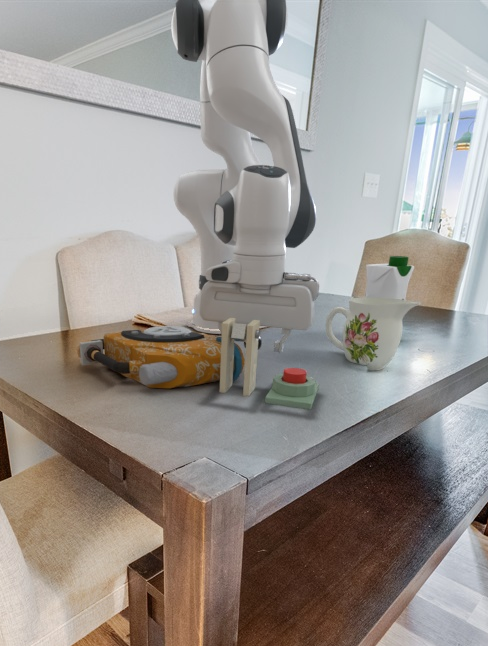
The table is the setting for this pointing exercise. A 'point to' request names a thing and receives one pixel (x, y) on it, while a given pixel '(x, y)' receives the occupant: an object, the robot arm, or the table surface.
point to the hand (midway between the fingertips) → (252, 348)
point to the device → (161, 356)
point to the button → (294, 375)
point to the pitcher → (370, 329)
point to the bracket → (228, 356)
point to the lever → (242, 334)
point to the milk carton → (389, 278)
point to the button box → (292, 393)
